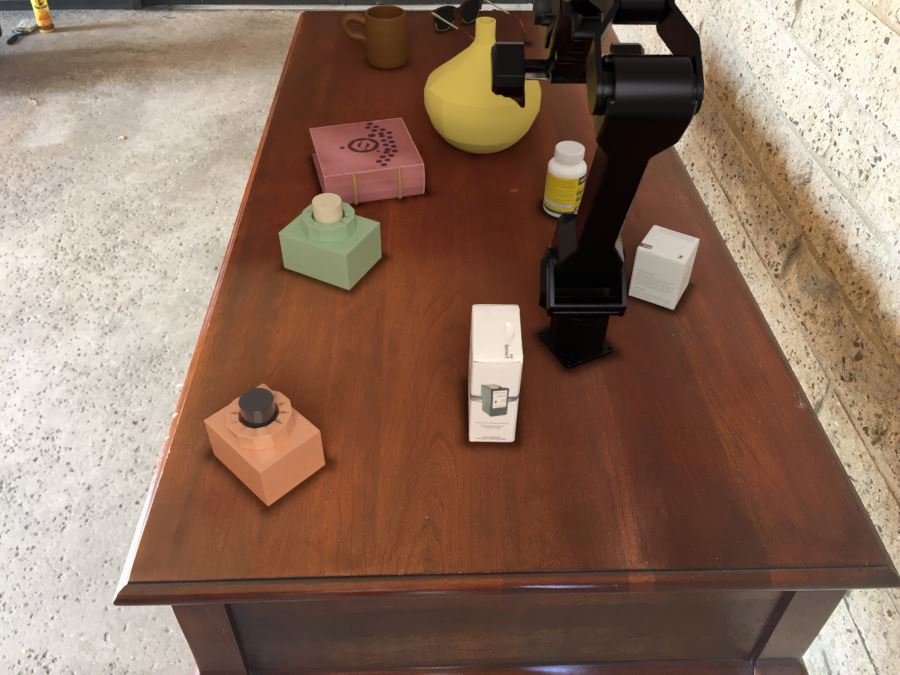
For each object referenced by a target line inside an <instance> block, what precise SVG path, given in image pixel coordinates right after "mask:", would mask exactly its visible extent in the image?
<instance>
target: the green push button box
mask: <svg viewBox="0 0 900 675" xmlns="http://www.w3.org/2000/svg"><path fill="white" fill-rule="evenodd" d="M342 210H343V218H342V220H340V221H338V222H335V223H332V224H322V223H319V222H316V221H315V219H314V214H313V206H312V203H310V204H309V205H308V206H306V208H304V209H303V210H302V212H301V213H300V214H299V215H298V216H296V217H295V218H294V219H293V220H292V221H290V223H289V224H287V225H286V226H284V228H282V229H281V230H280V231H279V232H278V239H279V243H280V249H281V255H282V262H283V268H285V269H287V270H290V271H292V272H295V273H298V274H302V275H304V276H307V277H310V278H313V279H315V280H319V281H321V282H324V283H327V284H330V285H333V286H336V287H339V288H341V289H344V290H346V291H351V289H352V288H353V287H354V286H355V285H356V284H357V283H358V282H359V281H360V280H361V279H362V278H363V277H364V276H365V275H366V274H367V273H368V272H369V271H370V270H371V269H372V268H373V267H374V266H375V265H376V263H377V262H378V261H379V260H380V259H382V257H383V256H382V252H383V251H382V237H381V236H382V235H381V222H379V221H377V220H373V219H370V218H366V217H364V216H361V215H357V214H356V210H355V209H354V208H353V207H352V205H350V204H348V203H345V202H342Z"/></svg>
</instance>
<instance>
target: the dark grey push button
mask: <svg viewBox="0 0 900 675" xmlns="http://www.w3.org/2000/svg"><path fill="white" fill-rule="evenodd" d="M240 396H241V397H240ZM240 396H239V397H240V398H239V402H238V404H239V408H240V412H241V416H242V420H243V422H244V423H245V424H246V425H247V426H249V427H252V428H261V427H265V426H267V425H269V424H270V423H272V422H273V421H274V419H275V417H276V414H277V413H276V407H275V402H274V397H273V394H272V393H271V392H270V391H269V390H267V389H264V388H256V387H254V388H251V389H248V390H246V391H244V392H243V393H242V394H241V395H240Z"/></svg>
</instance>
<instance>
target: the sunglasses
mask: <svg viewBox="0 0 900 675" xmlns="http://www.w3.org/2000/svg"><path fill="white" fill-rule="evenodd" d="M484 2H486V3H487V4H490V5H491V6H493V7H494V8H497V9H498V10H500V11H502V12H504V13H505V14H507V15H509V16H510V17H512V18H513V19H515V20H517V22H518V23H519V24H520V27H521V29H522V33H523V36H524V40H525V41H524V42H525V44H529V43H530V42H529V38H528V35H527V32H526V29H525V28H526V27H525V26H524V23H523V21H522V20H521V18H519V17H518V16H516V15H514V14H512V13H511V12H509V11H508V10H505V9H504V8H502V7H500V6H498V5H496V4H494V3H493V2H491V1H490V0H465V1H463V2H462V3H461V4H460V5H459V6H457V7H456V6H455V5H448V4H447V5H442V6H440V7H437V8H435V9H433V10H432V11H431V16H432V19H433V23H434V24H435V28H436V30H437V31H440V32H444V31H447V30H449V29H450V28H451V27H452V28H454V29H456V30H457V31H458V32H460V33H461V34H463V35H464V36H467V37H468V38H470V39H471V41H472V42H474V40H475V36H472V35H471V34H469V32H467V31H465V30H463V29H461V28H459V27H457V26H456V25H454V22H455V21H456V20H457V19H456V18H457V16H458V14H459V16H460V18H461V20H462V21H463V23H464V24H471V23H473V22H475V21H476V19H477V18H479V14H480V11H482V8H483V3H484Z"/></svg>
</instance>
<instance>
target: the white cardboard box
mask: <svg viewBox="0 0 900 675" xmlns="http://www.w3.org/2000/svg"><path fill="white" fill-rule="evenodd" d="M699 245H700V238H698V237H696V236H691V235H689V234H685V233H682V232H679V231H676V230H672V229H669V228H666V227H663V226H660V225H657V224H653V226H652V227H651V228H650V230H649V231H648V232H647V233H646V235H645V237H644V238H643V239H642V241H641V242H640V243H639V245H638V246H637V248H636V252H635V257H634V262H633V267H632V273H631V278H630V283H629V288H628V296H630V297H634V298H637V299H640V300H642V301H646V302H648V303H651V304H655V305H657V306H661V307H664V308H666V309H668V310H671V311H674V310H675V308H676V306H677V305H678V304H679V301H680V300H681V298H682V296H683V294H684V292H685V290H686V289H687V287H688V285H689V283H690V278H691V275H692V271H693V267H694V263H695V260H696V256H697V252H698V249H699Z"/></svg>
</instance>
